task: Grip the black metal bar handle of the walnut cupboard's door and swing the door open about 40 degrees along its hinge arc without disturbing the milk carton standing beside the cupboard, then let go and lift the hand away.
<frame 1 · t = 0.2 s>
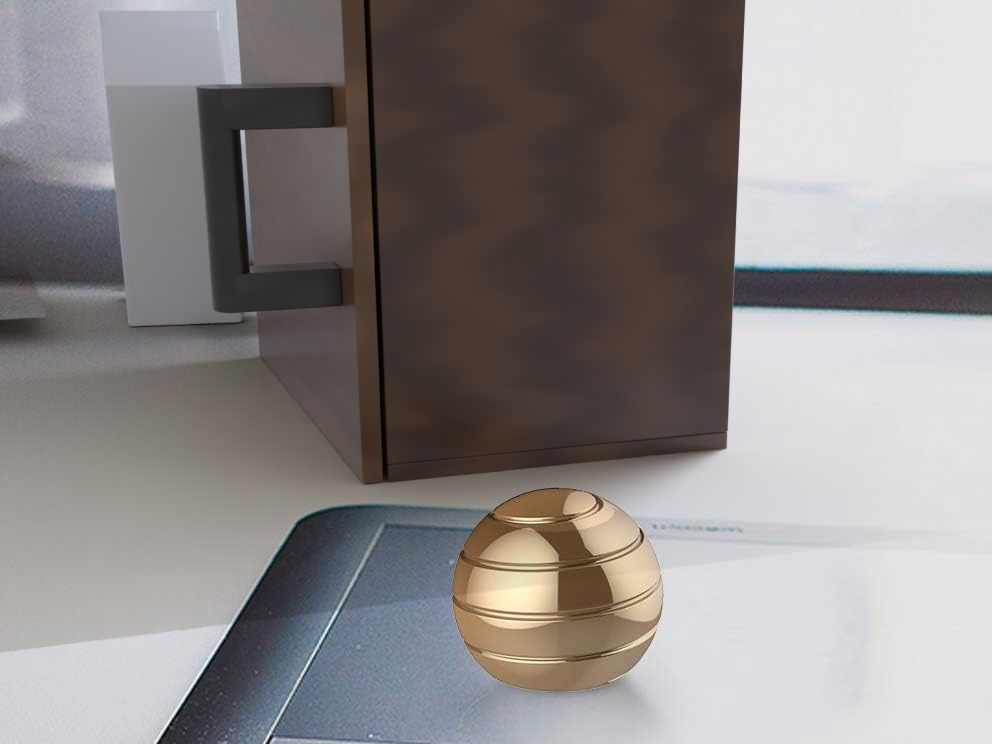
cupboard door: (244, 191, 90), point 12 cm above the table, hinge at 0.0°
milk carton: (184, 317, 116), on the table
cupboard: (486, 399, 99), on the table
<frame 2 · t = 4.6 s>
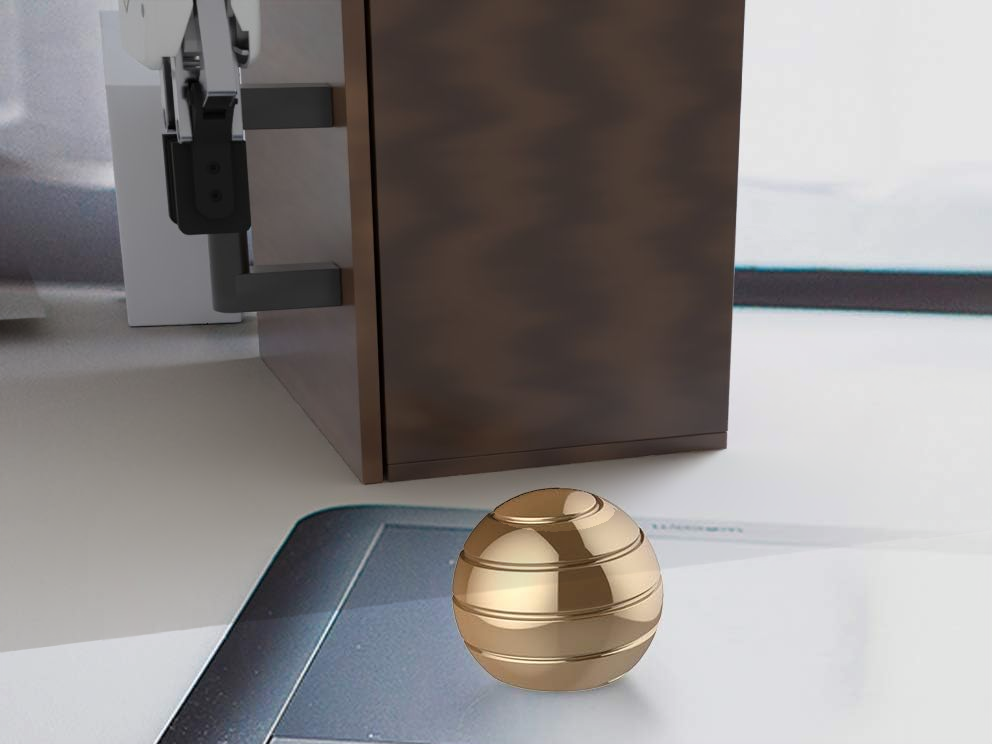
hand: (210, 224, 80), 12 cm above the table, tool pointing down, fingers closed on cupboard door, 2 cm apart
cupboard door: (244, 191, 90), point 12 cm above the table, hinge at 0.0°, touching gripper
everything else where it was.
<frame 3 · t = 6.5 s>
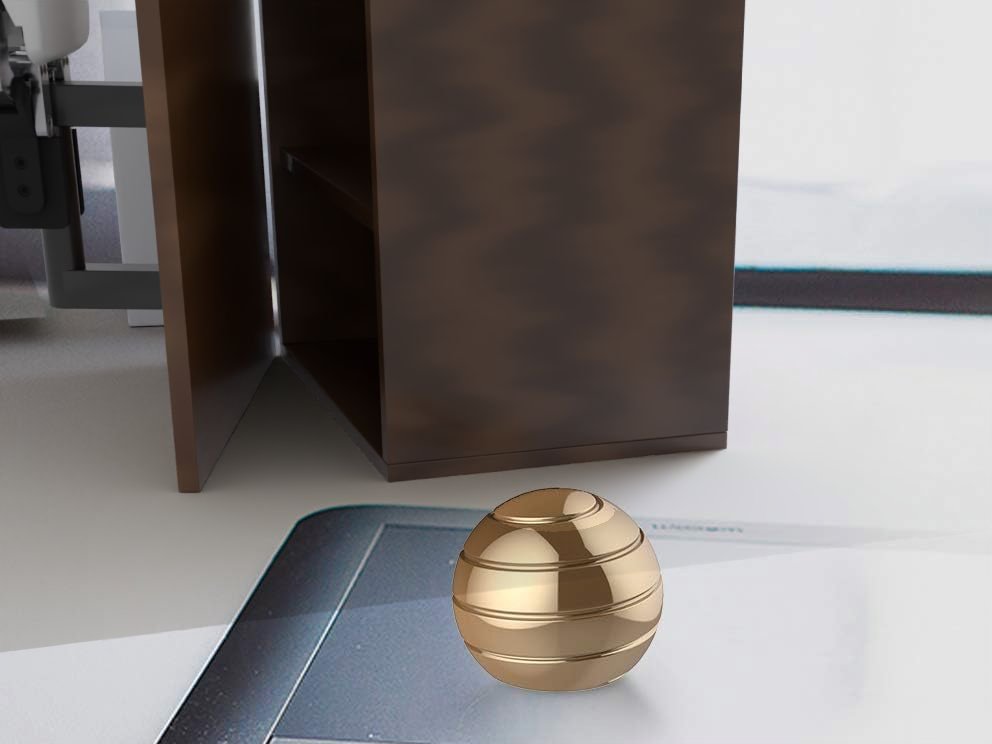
hand: (41, 219, 81), 12 cm above the table, tool pointing down, fingers closed on cupboard door, 2 cm apart
cupboard door: (158, 189, 90), point 12 cm above the table, hinge at 19.1°, touching gripper
everything else where it was.
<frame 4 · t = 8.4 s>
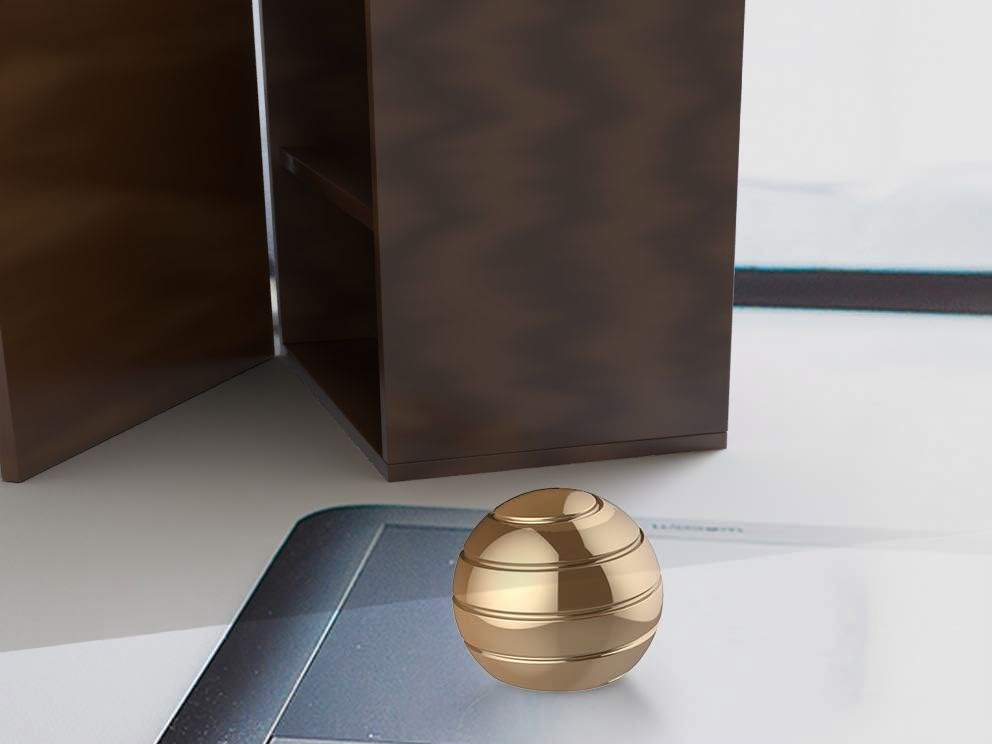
cupboard door: (83, 183, 91), point 12 cm above the table, hinge at 38.4°, touching gripper
everything else where it was.
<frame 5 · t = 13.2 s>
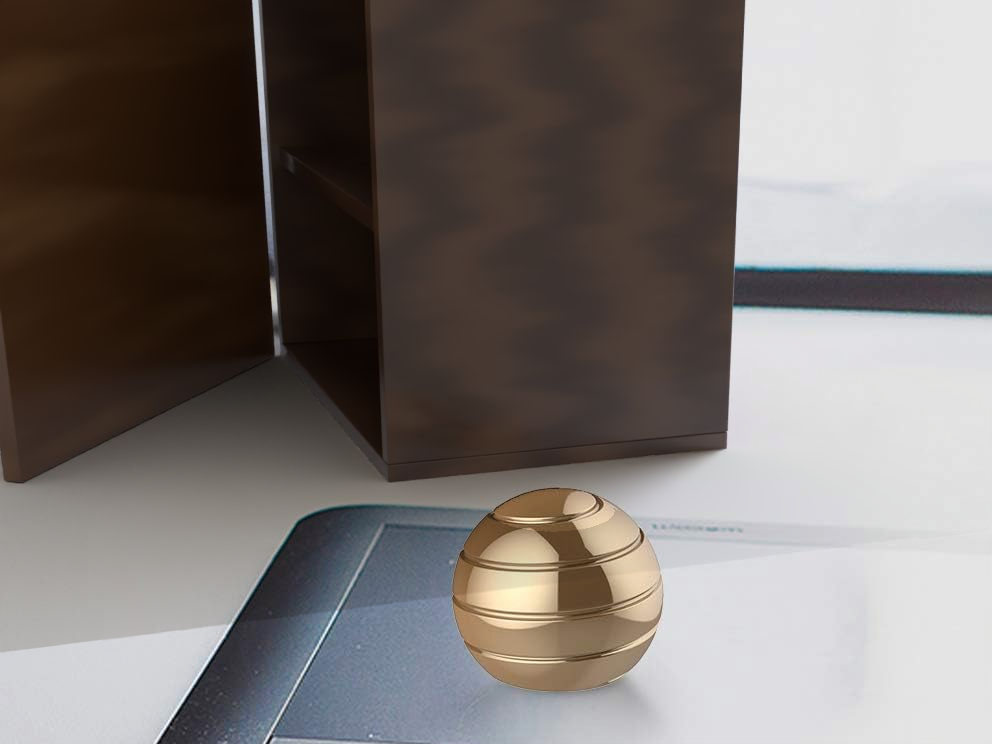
cupboard door: (84, 183, 91), point 12 cm above the table, hinge at 38.2°
everything else where it was.
at the end: cupboard door at +38° (first picture: +0°); the gripper is holding nothing; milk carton moved 0.2 cm from its start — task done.
